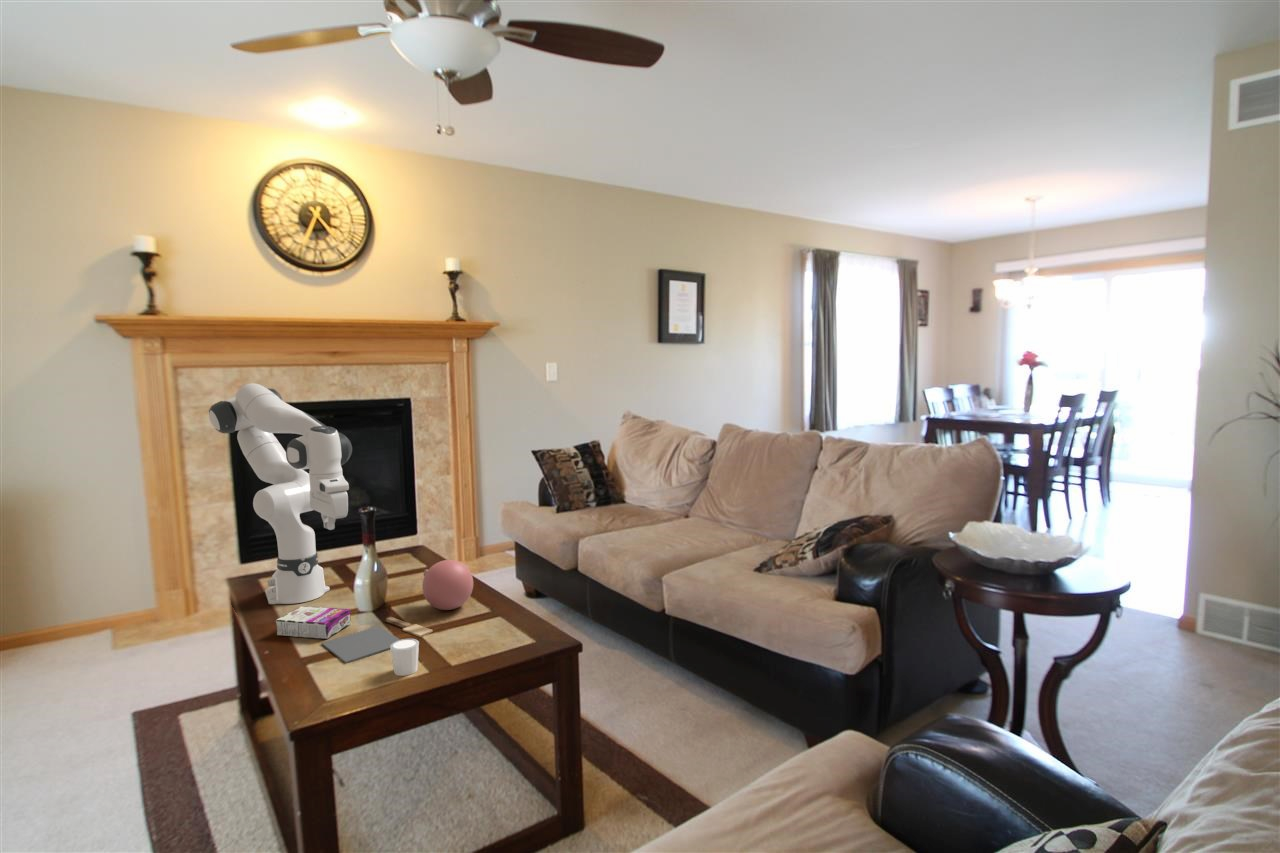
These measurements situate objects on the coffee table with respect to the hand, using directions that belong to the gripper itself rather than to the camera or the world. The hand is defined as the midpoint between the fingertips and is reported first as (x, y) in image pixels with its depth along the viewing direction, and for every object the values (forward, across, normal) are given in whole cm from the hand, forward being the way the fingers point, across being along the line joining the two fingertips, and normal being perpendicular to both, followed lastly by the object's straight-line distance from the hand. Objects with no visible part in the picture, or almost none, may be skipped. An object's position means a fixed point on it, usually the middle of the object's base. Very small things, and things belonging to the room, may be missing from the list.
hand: (329, 528), depth 194 cm
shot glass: (+29, +44, +1) cm, 53 cm away
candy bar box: (+27, +7, -1) cm, 28 cm away
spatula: (+29, +19, +14) cm, 38 cm away
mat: (+29, +21, 0) cm, 36 cm away
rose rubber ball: (+29, +11, +30) cm, 43 cm away
